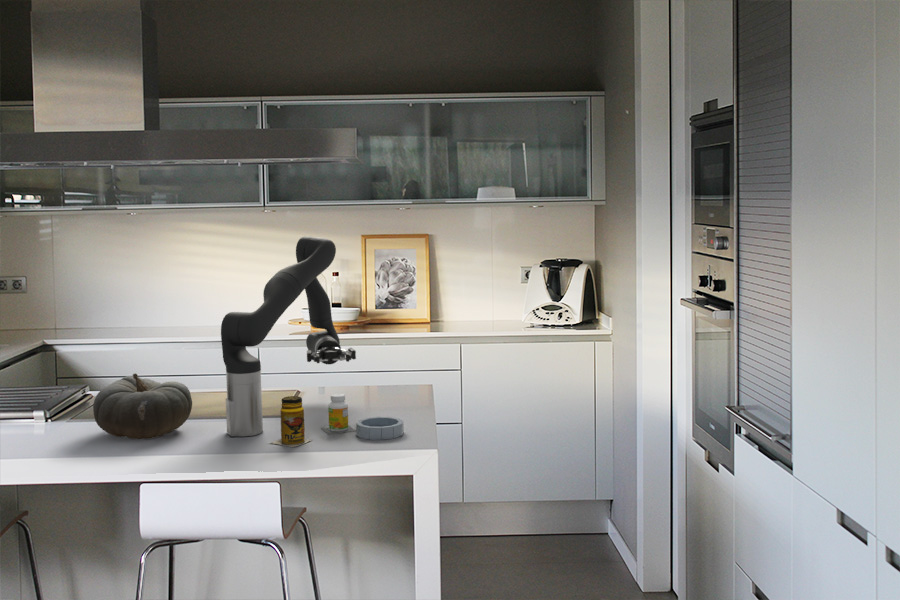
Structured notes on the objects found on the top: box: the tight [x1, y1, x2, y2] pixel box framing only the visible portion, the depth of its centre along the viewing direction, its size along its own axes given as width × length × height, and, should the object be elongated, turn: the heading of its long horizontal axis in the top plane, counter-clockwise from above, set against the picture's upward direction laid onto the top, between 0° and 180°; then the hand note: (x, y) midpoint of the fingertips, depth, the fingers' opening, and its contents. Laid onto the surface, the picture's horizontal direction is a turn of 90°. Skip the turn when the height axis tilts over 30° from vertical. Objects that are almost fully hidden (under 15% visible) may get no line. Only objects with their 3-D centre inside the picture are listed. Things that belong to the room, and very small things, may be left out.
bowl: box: [355, 416, 405, 441], centre depth 233 cm, size 12×12×3 cm
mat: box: [320, 424, 356, 435], centre depth 238 cm, size 8×7×1 cm
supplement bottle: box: [327, 393, 349, 432], centre depth 237 cm, size 5×5×10 cm
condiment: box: [270, 395, 312, 448], centre depth 225 cm, size 7×8×12 cm
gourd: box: [92, 372, 193, 440], centre depth 236 cm, size 25×25×17 cm
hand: (333, 358), depth 247 cm, fingers open, 8 cm apart
